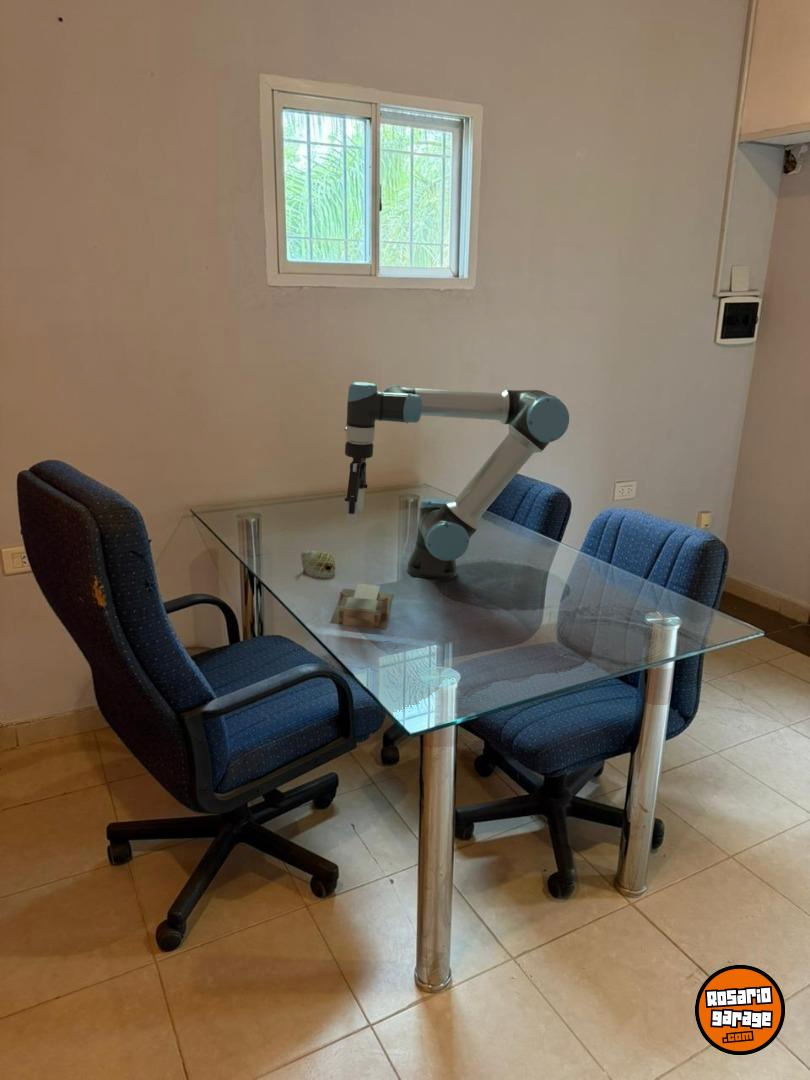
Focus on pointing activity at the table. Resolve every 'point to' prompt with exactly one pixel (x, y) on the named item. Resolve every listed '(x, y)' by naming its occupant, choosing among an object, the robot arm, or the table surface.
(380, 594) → the dock
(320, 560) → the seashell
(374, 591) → the tile
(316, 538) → the table surface
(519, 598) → the table surface
